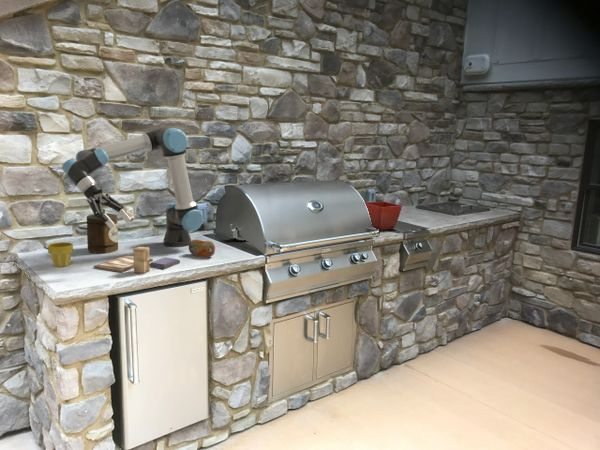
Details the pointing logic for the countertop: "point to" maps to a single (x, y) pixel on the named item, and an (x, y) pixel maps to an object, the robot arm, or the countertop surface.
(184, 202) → the robot arm
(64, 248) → the plant pot
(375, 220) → the plant pot
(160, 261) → the pad
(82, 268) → the countertop surface
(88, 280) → the countertop surface
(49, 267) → the countertop surface
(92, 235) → the wooden container
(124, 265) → the print board
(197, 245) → the brown oval lump
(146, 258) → the wooden block
